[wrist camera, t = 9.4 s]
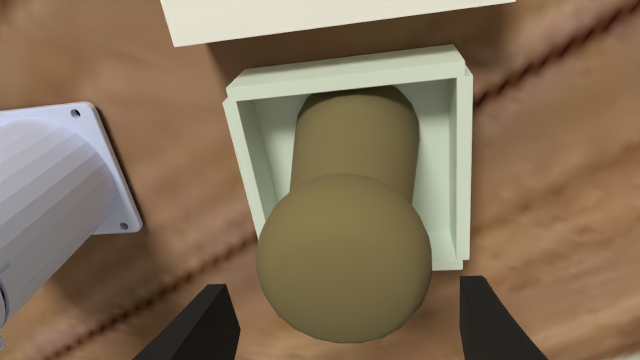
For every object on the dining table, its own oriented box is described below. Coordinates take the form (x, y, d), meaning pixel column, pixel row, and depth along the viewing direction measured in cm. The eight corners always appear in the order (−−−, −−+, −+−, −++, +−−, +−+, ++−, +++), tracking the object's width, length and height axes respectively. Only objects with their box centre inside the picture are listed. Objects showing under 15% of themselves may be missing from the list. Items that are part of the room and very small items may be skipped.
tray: (279, 241, 26) (268, 276, 23) (238, 69, 21) (219, 88, 18) (459, 233, 24) (469, 269, 21) (460, 43, 19) (473, 60, 17)
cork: (447, 128, 20) (507, 297, 11) (364, 210, 23) (355, 402, 14) (346, 46, 19) (315, 157, 10) (271, 143, 22) (189, 304, 12)
